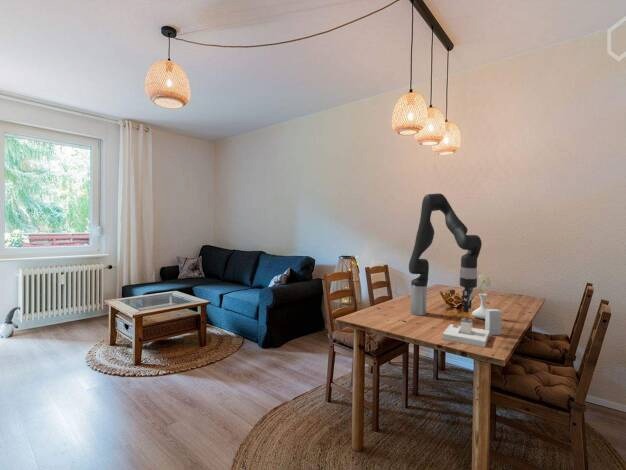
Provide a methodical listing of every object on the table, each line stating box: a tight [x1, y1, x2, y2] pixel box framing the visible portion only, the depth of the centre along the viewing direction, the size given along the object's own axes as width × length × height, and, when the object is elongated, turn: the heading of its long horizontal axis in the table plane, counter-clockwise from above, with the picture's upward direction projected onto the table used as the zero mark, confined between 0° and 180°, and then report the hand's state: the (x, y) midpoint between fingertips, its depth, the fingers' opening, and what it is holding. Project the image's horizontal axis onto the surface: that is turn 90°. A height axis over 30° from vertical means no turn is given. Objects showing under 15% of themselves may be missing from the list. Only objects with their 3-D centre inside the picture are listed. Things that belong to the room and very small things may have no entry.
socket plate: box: [442, 323, 490, 348], centre depth 160 cm, size 18×18×3 cm
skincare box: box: [484, 308, 502, 336], centre depth 166 cm, size 6×4×12 cm
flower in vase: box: [471, 273, 491, 320], centre depth 194 cm, size 13×11×25 cm
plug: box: [460, 317, 473, 335], centre depth 160 cm, size 4×4×9 cm
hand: (467, 310), depth 160 cm, fingers open, 8 cm apart
